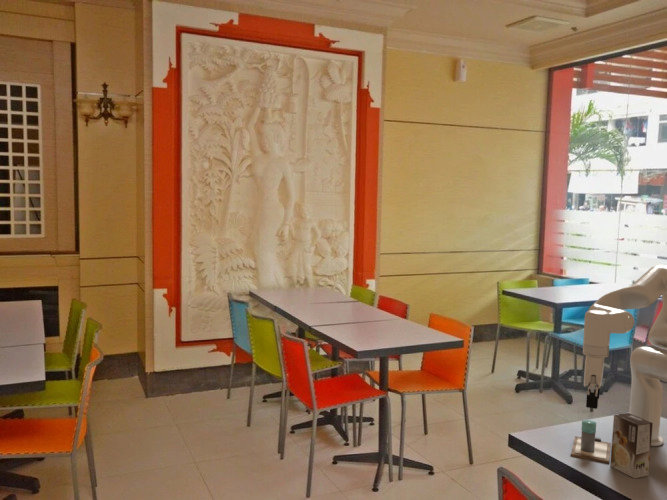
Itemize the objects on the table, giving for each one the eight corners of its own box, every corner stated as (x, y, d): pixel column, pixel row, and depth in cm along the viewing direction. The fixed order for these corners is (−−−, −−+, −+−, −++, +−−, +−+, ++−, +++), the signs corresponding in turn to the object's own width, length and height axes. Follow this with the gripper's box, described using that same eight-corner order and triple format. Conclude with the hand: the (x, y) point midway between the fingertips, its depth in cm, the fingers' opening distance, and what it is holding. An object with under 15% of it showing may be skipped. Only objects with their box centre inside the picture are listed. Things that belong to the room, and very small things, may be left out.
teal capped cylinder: (580, 446, 197) (582, 419, 196) (594, 448, 195) (596, 421, 195) (579, 450, 193) (581, 423, 193) (594, 453, 192) (596, 425, 191)
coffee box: (649, 475, 180) (654, 422, 179) (634, 479, 178) (638, 425, 176) (623, 462, 189) (628, 412, 187) (608, 465, 186) (612, 414, 185)
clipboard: (575, 438, 206) (575, 433, 206) (610, 445, 202) (611, 440, 201) (570, 455, 192) (571, 450, 192) (609, 463, 187) (609, 458, 187)
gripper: (584, 342, 201) (582, 392, 203) (580, 355, 185) (577, 409, 187) (610, 345, 198) (606, 396, 199) (607, 358, 182) (604, 414, 184)
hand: (592, 402), depth 193 cm, fingers open, 9 cm apart
